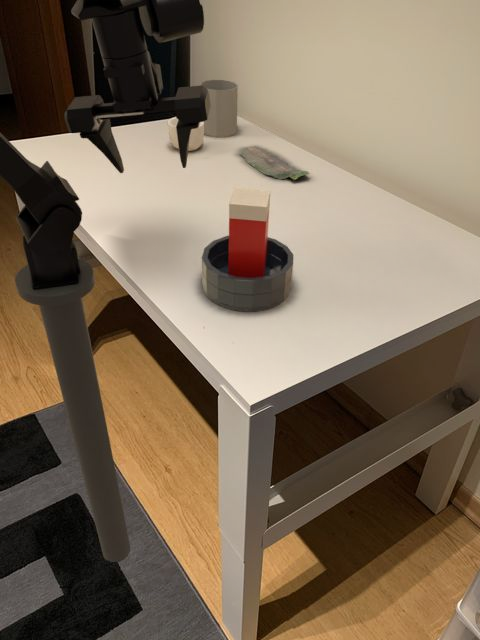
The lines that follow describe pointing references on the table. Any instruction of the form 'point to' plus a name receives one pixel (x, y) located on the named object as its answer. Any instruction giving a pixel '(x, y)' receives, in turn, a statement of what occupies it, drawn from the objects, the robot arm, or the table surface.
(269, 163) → the leaf
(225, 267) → the pot
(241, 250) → the soup carton
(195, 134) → the teacup
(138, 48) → the robot arm
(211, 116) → the cup
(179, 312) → the table surface
